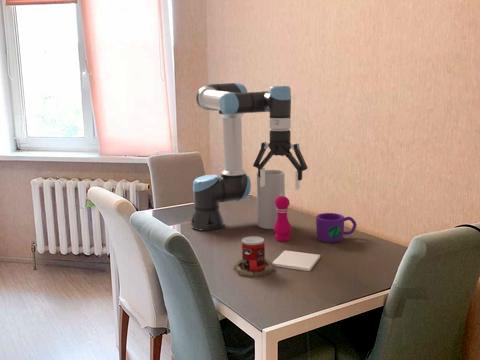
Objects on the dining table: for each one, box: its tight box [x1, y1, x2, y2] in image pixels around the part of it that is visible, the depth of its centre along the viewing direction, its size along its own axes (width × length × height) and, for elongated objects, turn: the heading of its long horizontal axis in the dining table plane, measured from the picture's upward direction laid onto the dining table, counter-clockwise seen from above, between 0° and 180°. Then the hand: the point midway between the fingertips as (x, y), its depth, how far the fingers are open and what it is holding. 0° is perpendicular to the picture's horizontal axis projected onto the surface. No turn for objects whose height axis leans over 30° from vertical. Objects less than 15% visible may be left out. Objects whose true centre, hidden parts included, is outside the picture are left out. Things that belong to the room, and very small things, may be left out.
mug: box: [315, 212, 358, 244], centre depth 195 cm, size 17×11×10 cm, turn 101°
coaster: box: [272, 250, 321, 272], centre depth 172 cm, size 14×14×1 cm
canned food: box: [241, 235, 266, 271], centre depth 166 cm, size 8×8×11 cm
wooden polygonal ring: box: [233, 258, 275, 278], centre depth 167 cm, size 13×13×2 cm
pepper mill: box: [273, 193, 292, 242], centre depth 195 cm, size 7×7×20 cm
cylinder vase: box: [256, 169, 286, 230], centre depth 214 cm, size 12×12×25 cm
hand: (279, 187), depth 173 cm, fingers open, 13 cm apart
